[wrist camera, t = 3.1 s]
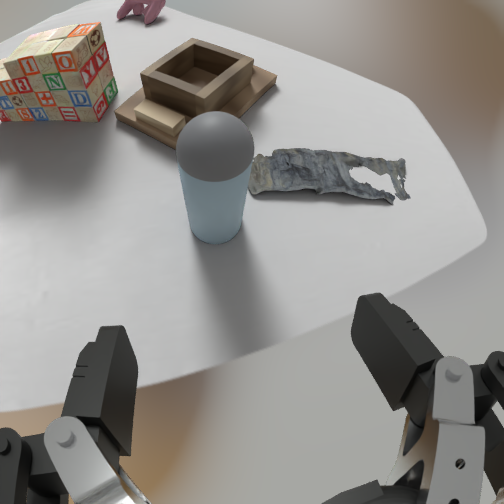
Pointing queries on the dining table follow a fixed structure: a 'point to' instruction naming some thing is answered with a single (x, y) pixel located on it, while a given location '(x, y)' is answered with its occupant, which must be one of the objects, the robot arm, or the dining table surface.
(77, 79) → the stack of blocks
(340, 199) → the dining table surface
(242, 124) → the ball on cylinder
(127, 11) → the video game controller
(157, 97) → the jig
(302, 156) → the driftwood
